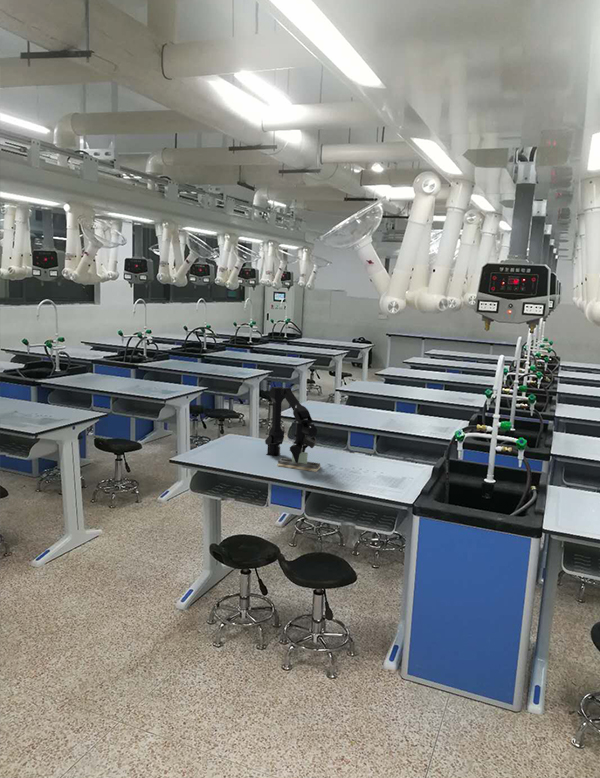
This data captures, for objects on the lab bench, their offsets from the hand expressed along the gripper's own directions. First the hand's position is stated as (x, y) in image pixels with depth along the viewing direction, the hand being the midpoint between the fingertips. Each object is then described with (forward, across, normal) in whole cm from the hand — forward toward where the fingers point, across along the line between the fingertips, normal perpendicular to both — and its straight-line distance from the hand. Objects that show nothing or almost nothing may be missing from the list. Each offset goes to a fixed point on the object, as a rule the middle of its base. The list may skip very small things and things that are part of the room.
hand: (299, 460), depth 312 cm
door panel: (+2, 0, 0) cm, 3 cm away
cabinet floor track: (+4, 0, 0) cm, 4 cm away
